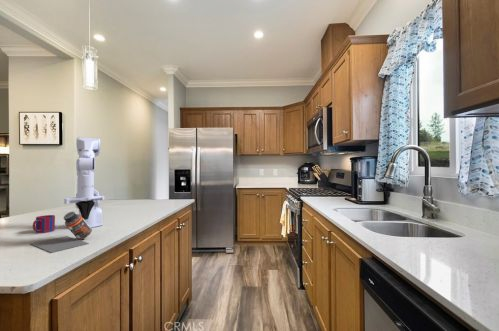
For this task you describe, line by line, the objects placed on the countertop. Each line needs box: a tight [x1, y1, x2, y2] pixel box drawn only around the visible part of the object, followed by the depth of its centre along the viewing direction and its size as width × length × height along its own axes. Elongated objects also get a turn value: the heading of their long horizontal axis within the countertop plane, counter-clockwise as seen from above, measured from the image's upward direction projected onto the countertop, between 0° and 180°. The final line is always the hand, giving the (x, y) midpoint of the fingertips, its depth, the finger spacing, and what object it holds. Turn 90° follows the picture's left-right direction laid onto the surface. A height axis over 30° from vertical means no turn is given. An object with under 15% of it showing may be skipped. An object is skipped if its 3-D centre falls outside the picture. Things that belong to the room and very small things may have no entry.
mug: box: [32, 214, 56, 234], centre depth 109 cm, size 7×10×7 cm
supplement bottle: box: [63, 211, 93, 240], centre depth 98 cm, size 6×6×11 cm
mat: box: [29, 235, 89, 254], centre depth 93 cm, size 12×18×1 cm, turn 59°
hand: (85, 219), depth 101 cm, fingers closed
